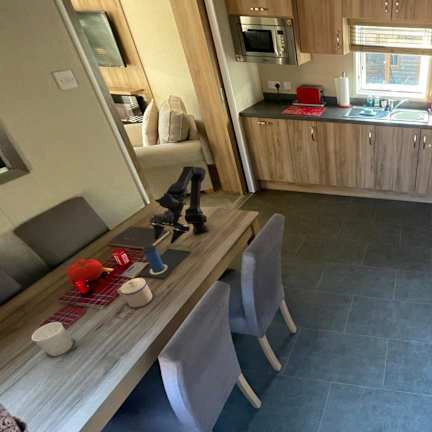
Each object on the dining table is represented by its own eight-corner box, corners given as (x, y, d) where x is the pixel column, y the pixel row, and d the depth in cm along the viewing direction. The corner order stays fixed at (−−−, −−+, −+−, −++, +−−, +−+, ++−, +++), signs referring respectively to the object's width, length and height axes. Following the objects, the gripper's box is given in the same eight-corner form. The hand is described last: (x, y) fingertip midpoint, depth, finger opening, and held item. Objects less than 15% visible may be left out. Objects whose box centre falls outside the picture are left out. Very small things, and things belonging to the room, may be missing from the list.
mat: (168, 249, 164) (168, 248, 164) (190, 252, 164) (189, 251, 163) (139, 276, 148) (139, 274, 147) (163, 279, 147) (163, 277, 147)
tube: (152, 268, 152) (142, 247, 144) (164, 264, 154) (155, 243, 147) (153, 274, 148) (142, 253, 141) (165, 270, 151) (156, 249, 144)
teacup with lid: (157, 292, 140) (148, 273, 134) (145, 308, 133) (134, 289, 126) (130, 292, 140) (119, 273, 133) (116, 308, 132) (104, 288, 126)
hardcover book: (150, 250, 163) (148, 247, 162) (109, 245, 165) (107, 242, 163) (170, 232, 176) (169, 229, 175) (132, 228, 178) (131, 225, 177)
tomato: (108, 277, 146) (100, 263, 141) (75, 290, 139) (65, 275, 134) (103, 266, 152) (95, 252, 147) (71, 278, 144) (61, 263, 139)
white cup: (58, 339, 119) (43, 322, 113) (80, 338, 120) (67, 321, 114) (41, 358, 112) (25, 341, 107) (64, 357, 113) (50, 340, 108)
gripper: (145, 203, 148) (132, 235, 145) (177, 210, 144) (165, 243, 141) (164, 209, 159) (153, 238, 156) (195, 216, 155) (184, 246, 152)
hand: (163, 241), depth 151 cm, fingers open, 9 cm apart
